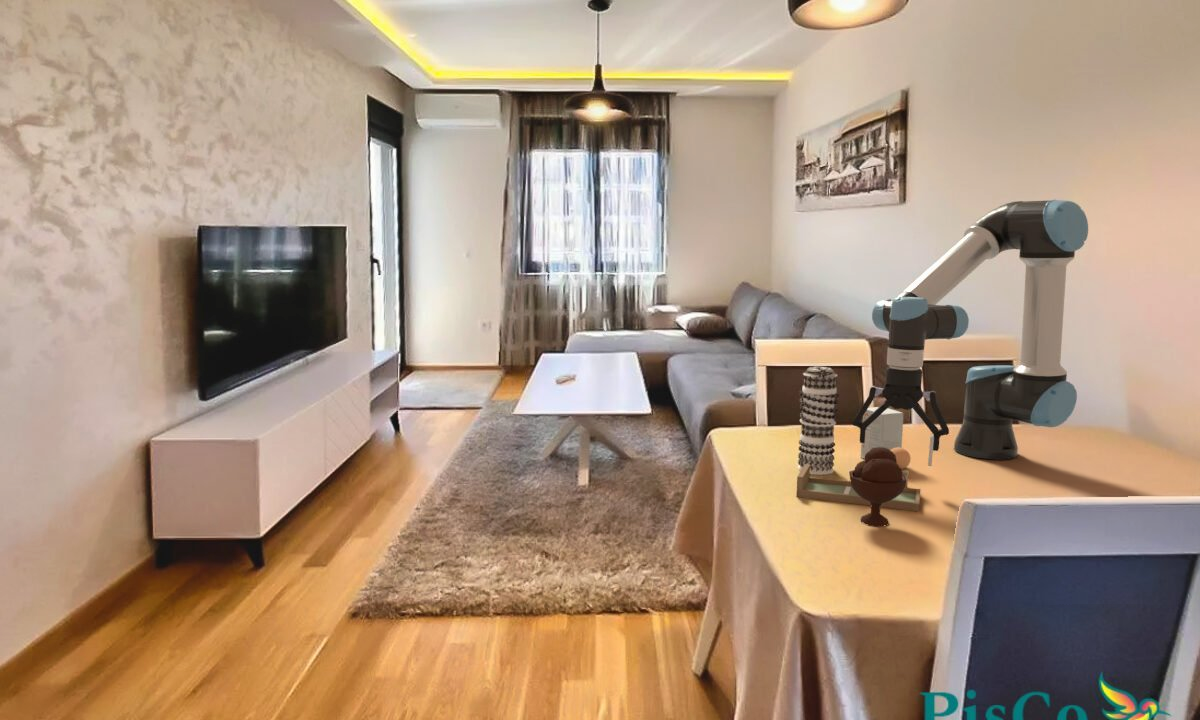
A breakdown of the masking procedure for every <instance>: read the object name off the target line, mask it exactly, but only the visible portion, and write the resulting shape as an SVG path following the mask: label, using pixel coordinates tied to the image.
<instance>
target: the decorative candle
mask: <svg viewBox="0 0 1200 720" xmlns="http://www.w3.org/2000/svg"><path fill="white" fill-rule="evenodd" d="M802 375H803V385H802V389H800V390H799V392H798V393H799V396H801V397H800V399H799V403H800V405H799V410H800V411H801V412H800V413H799V418H800V419H799V422H800V424H801V426H800V427H801V428H800V429H801V430H800V431H801V433H800V437H799V438H800V439H799V440H798V444H799V447H798V450H799V453H798V454H797V455H798V460H797V464H798V466H797V469H798V471H799V472H800V471H801V469H802V468H803V466H804V464H810V474H811V475H816V476H817V475H818V476H819V475H822V476H823V474H824V475H829V474H833V472H834V468H833V467H834V466H835V463H834V460H835V455H833V454H834V453H835V452H836V451H835V448H834V447H835V446H836V443H835V434H834V432H835V426H836V424H837V421H835V419H837V418H838V416H837V415H836V414H835V413H837V412H838V408H836V407H835V406H836V405H838V404H839V400H837V398H839V397H840V394H838V393H837V390H838V389H837V386H836V385H837V377H838V374H836V373H835V371H834V369H832V368H831V367H829V366H828V367H827V366H819V365H818V366H809V367H807V369H806V370H805V372H803V373H802Z"/></svg>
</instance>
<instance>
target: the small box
mask: <svg viewBox="0 0 1200 720" xmlns="http://www.w3.org/2000/svg"><path fill="white" fill-rule="evenodd" d="M879 407H880V406H875V407H873V406H872V407H868V409H867V410H866V412H865V414H864V415H863V417H862V422H864V421H865V420H866V419H867V418H868V417H869V416H870V415H871V414H872V413H873V412H874V411H875V410H876V409H878V408H879ZM867 428H870V434H869V448H868V452H869V451H870V450H871V449H872V448H876V447H885V448H887V449H889V450H891V449H893V448H896V447H900V448H903V446H902V445H903V430H904V429H903V428H904V412H901V411H899V410H896V409H893V408H889V407H888V408H887V409H886V410H885V411H884V412H883V413H882V414H881V415H880V416H878V417H877V418H876V419H875V420H874V421H873V422H872V423H871V424H870V425H869V426H868V427H867ZM860 444H861V445H860V446H861V447H860V458H861V459H864V444H865V443H860Z"/></svg>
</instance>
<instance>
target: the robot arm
mask: <svg viewBox="0 0 1200 720" xmlns="http://www.w3.org/2000/svg"><path fill="white" fill-rule="evenodd" d="M1088 222H1089V221H1088V217H1087V215H1086V214H1085V211H1084V210H1083V209H1082V207H1081V206H1080V205H1079V204H1078V203H1075V202H1074V201H1071V200H1059V199H1052V200H1051V199H1050V200H1025V201H1023V200H1021V201H1020V200H1017V201H1010V202H1009V203H1007V202H1006V203H1005V204H1003V205H1000V206H998V207H996V208H994V209H992V210H990V211H989V212H988V213H985V214H984V215H983V216H981V217H980V218H978V219H977V220H975V222H973V223H972V224H971V225H970V226H969V227H967V229H966V230H965V231H964V234H963V238H962V239H960V240H959V241H958V242H957V243H956V244H954V245H953V246H952V247H951V248H950V249H949V250H948V251H947V252H946V253H945V254H943V255H942V256H941V257H940V258H939V259H938V260H937V261H936V262H935V263H933V264H932V265H931V266H930V267H929V268H927V270H925V271H924V272H923V273H922V274H921V275H920V276H918V278H916V279H915V280H914V281H913V282H912V283H911V284H909V285H908V286H907V287H906V288H905V289H904V290H903V291H902V292H900V293H899V294H898V295H897V296H896V297H894V298H893V299H890V298H888V299H881V300H880V301H877V303H876V304H875V305H874V307H873V308H872V312H871V319H872V322H873V325H874V326H875V327H876V328H877V329H878V330H881V331H886V332H888V343H887V344H888V345H887V355H886V364H887V365H888V367H887V368H886V369H885V380H884V381H885V383H884V387H883V388H882V387H877V386H876V385H871V387H870V388H869V394H868V397H867V398H866V400H865V402H864V403H863V405H862V406H861V407H860V409H859V411H858V412H857V414H856V415H855V418H854V419H853V420H852V426H854V427H857V428H858V429H859V443H860V444H861V443H865V444H864V458H863V459H864V460H865V454H866V453H867V452H868V448H869V434H870V428H867V427H868V426H869V425H870V424H871V423H872V422H873V421H874V420H875V419H876V418H877V417H878V416H880V415H881V414H882V413H883V412H884V411H885V410H886V409H887V408H889V407H891V409H893V410H900V409H902V410H905V411H909V410H912V409H913V411H914V412H915V413H916V414H917V415H918V417H920V419H921V420H922V421H923V423H924V424H925V425H926V427H927V428H928V429H929V430H930V432H931V434H930V435H929V446H928V447H929V448H928V449H929V450H928V458H927V459H928V460H927V466H928V467H932V463H933V454H934V452H935V451H936V452H937V451H939V449H940V438H941V437H942V436H947V435H949V434H950V429H949V427H948V425H947V422H946V420H945V418H944V415H943V412H942V411H941V409H940V407H939V403H938V402H937V395H936V390H930V391H923V390H922V379H923V370H922V369H921V368H922V367H923V366H924V355H925V343H926V340H927V341H928V340H951V339H958V338H960V337H962V336H964V334H965V333H966V332H967V330H968V328H969V315H968V312H966V310H965V309H964V308H963V307H961V306H959V305H952V304H951V305H950V304H945V305H943V304H940V305H939V304H938V303H939V302H941V301H942V300H943V298H945V297H946V296H947V295H949V293H950V292H952V291H953V290H954V289H955V288H956V287H957V286H958V285H959V284H960V283H961V282H962V281H964V280H965V279H966V278H967V277H968V276H969V275H971V274H972V273H973V272H974V271H975V270H976V269H977V268H978V267H980V265H982V264H983V263H984V262H985V261H986V260H991V259H992V260H993V259H994V258H996V257H997V256H998V255H999V254H1000V253H1002V252H1005V251H1009V250H1019V254H1018V255H1019V260H1021V261H1022V262H1023V264H1024V265H1025V275H1024V277H1025V278H1024V292H1023V293H1024V295H1023V314H1022V328H1021V329H1022V330H1021V331H1022V332H1021V346H1020V347H1021V348H1020V350H1021V351H1020V362H1019V364H1017V365H1016V366H1015V365H1003V364H1002V365H998V364H997V365H994V364H993V365H978V366H977V365H976V366H971V368H969V369H968V370H967V373H966V379H965V391H964V392H965V393H964V405H963V406H964V408H963V420H962V424H961V425H960V428H959V431H958V433H957V435H956V437H955V440H954V444H953V446H954V447H953V450H954V451H955V452H956V453H958V454H961V455H963V456H967V457H971V458H975V459H984V460H994V461H995V460H999V461H1001V460H1005V461H1006V460H1012V459H1015V458H1017V457H1018V453H1019V451H1018V450H1019V447H1018V444H1017V440H1016V436H1015V431H1014V428H1013V421H1018V422H1023V423H1026V424H1030V425H1033V426H1037V427H1045V428H1056V427H1059V426H1061V425H1063V424H1064V423H1065V422H1067V420H1068V419H1069V417H1071V416H1072V414H1073V412H1074V410H1075V408H1076V404H1077V399H1078V393H1077V389H1076V388H1075V386H1074V384H1073V383H1071V382H1070V381H1067V373H1068V372H1067V370H1066V369H1065V368H1064V367H1063V366H1062V365H1061V357H1062V356H1061V355H1062V340H1063V326H1064V325H1063V324H1064V312H1065V311H1064V310H1065V297H1066V296H1065V293H1066V279H1067V278H1066V277H1067V266H1068V264H1069V263H1071V262H1072V261H1073V260H1074V259H1075V255H1076V254H1075V252H1077V251H1078V250H1080V249H1082V248H1083V246H1084V245H1085V241H1087V239H1088V234H1089V223H1088ZM880 394H882V396H883V397H884V399H885V401H884V402H883V403H882V404H880V406H878V407H879V408H878V409H876V410H875V411H874V412H873V413H872V414H871V415H870V416H869V417H868V418H867V419H866V420H865V421H864V422H863V420H862V419H863V415H864V414H865V412H866V410H867V409H868V408H870V406H871V404H872V403H873V401H874V399H875V398H878V397H879V395H880ZM923 398H924V399H926V401H927V402H929V404H930V406H931V409H932V411H933V413H934V416H935V418H936V420H937V422H938V425H939V426H940V429H939V428H938V427H937V425H936V424H935V423H934V421H932V419H931V418H930V417H929V415H928V414H927V413H926V411H925V410H924V409H923V407H922V406H921V405H920V403H919V402H920V400H922V399H923ZM861 420H862V421H861Z"/></svg>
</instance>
